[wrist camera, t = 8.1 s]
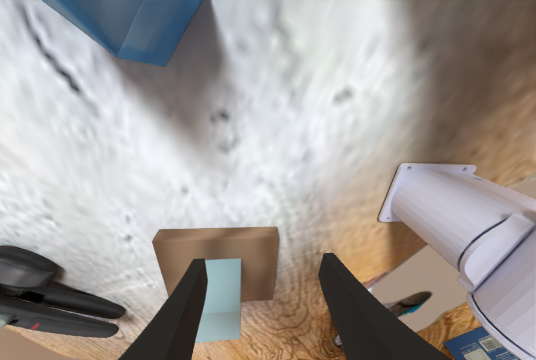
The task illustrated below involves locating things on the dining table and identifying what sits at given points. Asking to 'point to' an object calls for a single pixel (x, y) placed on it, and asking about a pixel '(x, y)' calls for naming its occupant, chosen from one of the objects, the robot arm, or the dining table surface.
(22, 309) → the can opener
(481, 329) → the protein box
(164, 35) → the perfume bottle
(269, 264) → the walnut block
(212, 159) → the dining table surface
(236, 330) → the blue block
